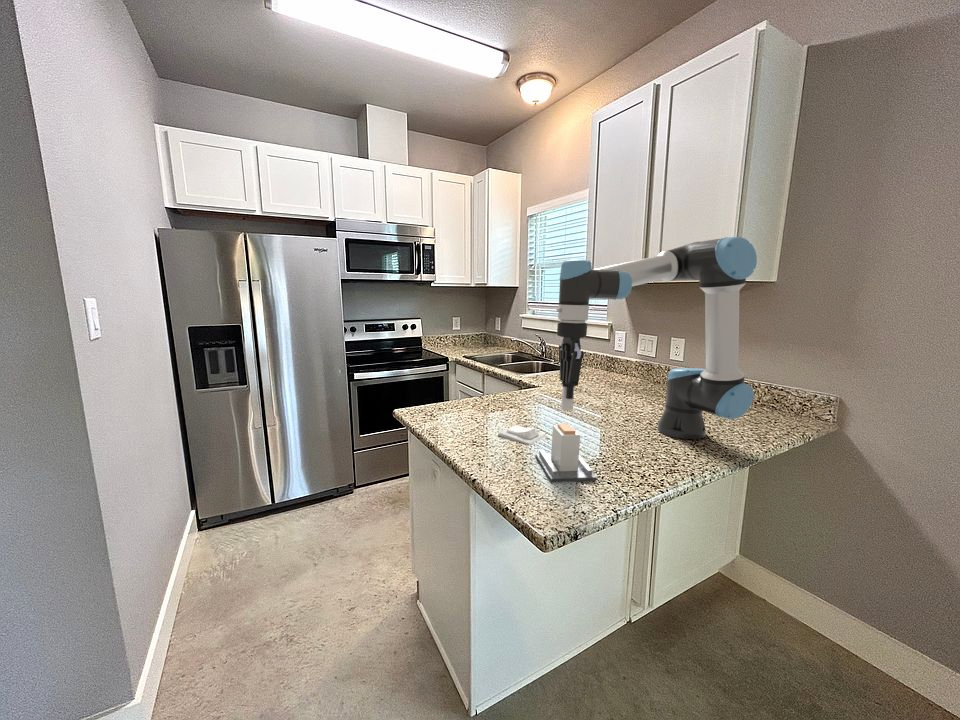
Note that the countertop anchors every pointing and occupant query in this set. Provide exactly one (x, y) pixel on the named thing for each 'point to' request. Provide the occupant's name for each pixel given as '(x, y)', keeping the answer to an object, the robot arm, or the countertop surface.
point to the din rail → (564, 476)
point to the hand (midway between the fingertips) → (566, 409)
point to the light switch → (522, 434)
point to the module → (565, 447)
